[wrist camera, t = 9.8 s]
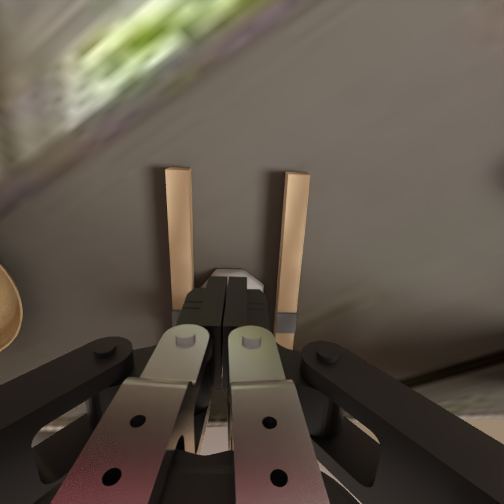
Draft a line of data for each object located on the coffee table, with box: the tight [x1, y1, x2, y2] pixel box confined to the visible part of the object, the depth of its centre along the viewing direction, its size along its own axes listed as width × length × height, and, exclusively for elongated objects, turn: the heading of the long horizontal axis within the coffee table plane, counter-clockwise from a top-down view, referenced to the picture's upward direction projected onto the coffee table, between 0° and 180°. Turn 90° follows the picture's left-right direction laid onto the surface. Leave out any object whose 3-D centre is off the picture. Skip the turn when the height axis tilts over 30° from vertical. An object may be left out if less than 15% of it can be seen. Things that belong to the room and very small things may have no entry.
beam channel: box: [165, 167, 310, 377], centre depth 34 cm, size 13×23×2 cm, turn 178°
